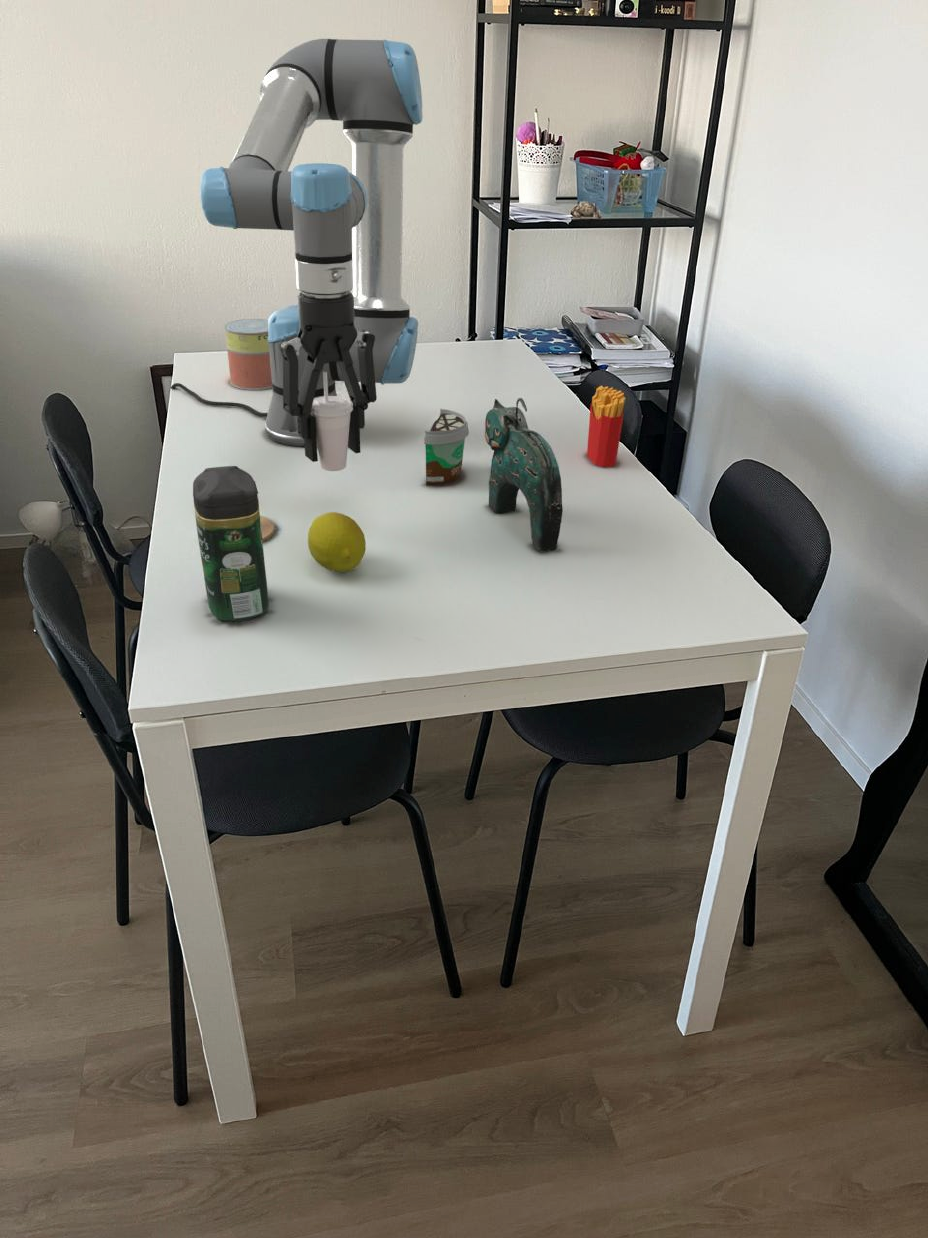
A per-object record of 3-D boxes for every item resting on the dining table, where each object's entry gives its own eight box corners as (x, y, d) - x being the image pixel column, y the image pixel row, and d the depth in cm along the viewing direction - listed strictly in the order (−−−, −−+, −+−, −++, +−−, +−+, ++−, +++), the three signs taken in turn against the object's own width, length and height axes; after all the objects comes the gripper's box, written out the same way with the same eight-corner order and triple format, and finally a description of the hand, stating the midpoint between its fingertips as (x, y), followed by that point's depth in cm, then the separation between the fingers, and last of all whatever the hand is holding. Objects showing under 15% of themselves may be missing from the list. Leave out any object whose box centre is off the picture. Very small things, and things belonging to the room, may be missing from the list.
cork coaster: (198, 525, 145) (197, 522, 145) (259, 512, 150) (259, 509, 149) (221, 552, 138) (220, 548, 138) (285, 537, 142) (284, 534, 142)
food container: (459, 492, 158) (461, 435, 153) (424, 488, 159) (424, 432, 154) (473, 465, 169) (475, 411, 163) (440, 461, 170) (441, 407, 164)
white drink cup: (323, 455, 143) (318, 363, 136) (362, 461, 142) (359, 369, 134) (304, 470, 138) (297, 376, 131) (344, 477, 136) (339, 382, 129)
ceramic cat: (477, 503, 155) (482, 383, 144) (513, 497, 157) (520, 379, 147) (532, 557, 140) (542, 427, 129) (571, 550, 142) (583, 422, 131)
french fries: (581, 451, 176) (588, 383, 169) (603, 450, 177) (611, 381, 170) (600, 470, 168) (608, 399, 161) (622, 469, 169) (631, 398, 162)
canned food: (278, 390, 200) (273, 333, 194) (224, 389, 200) (218, 331, 194) (287, 374, 210) (283, 319, 203) (236, 372, 210) (231, 317, 203)
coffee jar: (204, 591, 128) (187, 463, 118) (263, 584, 130) (251, 457, 121) (210, 628, 120) (192, 494, 111) (273, 619, 123) (261, 487, 113)
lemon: (373, 580, 132) (372, 528, 128) (318, 588, 130) (315, 536, 126) (355, 546, 141) (353, 496, 137) (303, 552, 139) (299, 502, 134)
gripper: (269, 305, 120) (282, 475, 132) (401, 290, 129) (402, 451, 141) (247, 292, 125) (261, 457, 137) (376, 279, 134) (378, 435, 146)
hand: (333, 453), depth 139 cm, fingers closed on white drink cup, 6 cm apart
